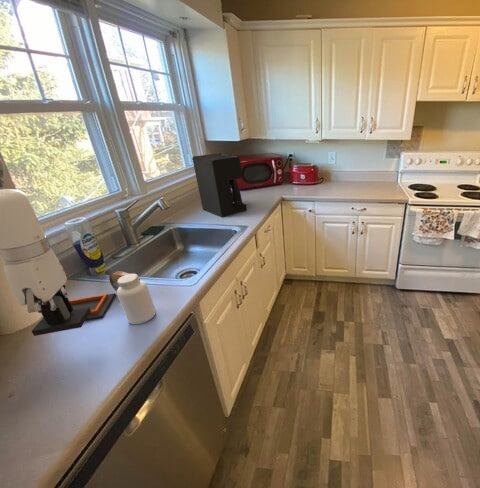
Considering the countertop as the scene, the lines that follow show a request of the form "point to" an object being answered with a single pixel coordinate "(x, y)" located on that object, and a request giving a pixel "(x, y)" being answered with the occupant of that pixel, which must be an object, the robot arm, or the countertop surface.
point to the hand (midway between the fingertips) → (61, 317)
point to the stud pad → (67, 324)
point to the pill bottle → (135, 299)
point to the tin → (116, 278)
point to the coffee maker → (219, 183)
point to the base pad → (94, 305)
